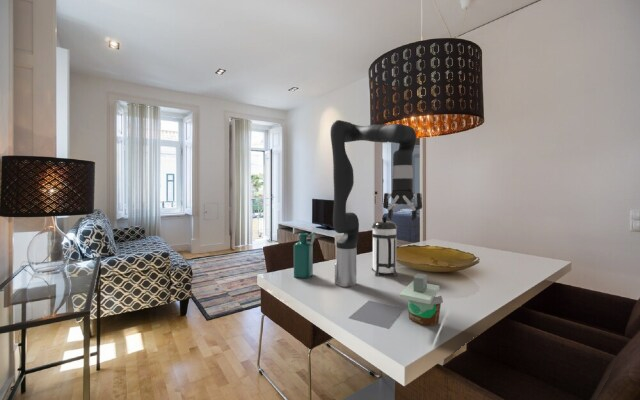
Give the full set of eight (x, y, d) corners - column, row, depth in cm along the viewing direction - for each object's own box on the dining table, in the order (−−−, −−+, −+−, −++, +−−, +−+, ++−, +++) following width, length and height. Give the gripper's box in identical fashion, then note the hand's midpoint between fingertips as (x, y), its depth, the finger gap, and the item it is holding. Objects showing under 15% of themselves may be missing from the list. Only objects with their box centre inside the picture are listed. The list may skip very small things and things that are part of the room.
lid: (399, 297, 87) (399, 279, 87) (412, 284, 100) (412, 268, 99) (429, 304, 82) (429, 285, 82) (439, 289, 95) (439, 272, 95)
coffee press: (362, 273, 147) (362, 216, 146) (381, 267, 158) (381, 214, 157) (390, 281, 134) (390, 218, 133) (408, 274, 144) (409, 216, 143)
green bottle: (292, 277, 140) (292, 233, 140) (298, 272, 148) (298, 231, 148) (310, 279, 138) (310, 234, 137) (316, 274, 146) (316, 232, 145)
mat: (348, 319, 94) (348, 317, 94) (369, 301, 109) (369, 300, 109) (388, 330, 87) (388, 328, 87) (405, 309, 102) (405, 308, 102)
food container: (397, 320, 93) (398, 290, 93) (407, 314, 98) (407, 286, 97) (434, 333, 85) (434, 301, 84) (442, 326, 89) (443, 295, 89)
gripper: (424, 177, 106) (423, 220, 107) (387, 178, 114) (387, 218, 114) (419, 176, 100) (418, 222, 100) (381, 178, 107) (380, 220, 108)
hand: (402, 220), depth 107 cm, fingers open, 8 cm apart
